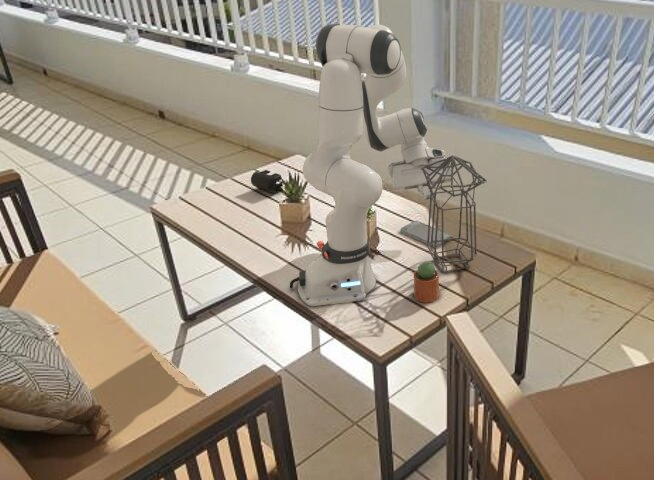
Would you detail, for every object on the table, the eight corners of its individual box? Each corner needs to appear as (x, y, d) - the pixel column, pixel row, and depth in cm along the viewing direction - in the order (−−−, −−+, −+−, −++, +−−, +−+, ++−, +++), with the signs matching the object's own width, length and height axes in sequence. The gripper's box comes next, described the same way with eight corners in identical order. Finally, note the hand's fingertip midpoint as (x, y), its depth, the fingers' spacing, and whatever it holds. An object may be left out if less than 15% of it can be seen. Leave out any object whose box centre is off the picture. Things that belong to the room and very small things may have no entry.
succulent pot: (419, 304, 171) (418, 272, 165) (410, 291, 176) (409, 259, 171) (442, 299, 173) (442, 266, 167) (433, 286, 178) (433, 254, 173)
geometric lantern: (420, 254, 193) (418, 149, 175) (468, 247, 196) (471, 143, 178) (433, 281, 180) (433, 170, 162) (485, 273, 183) (490, 164, 165)
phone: (435, 248, 196) (435, 244, 196) (399, 232, 206) (399, 228, 205) (452, 238, 201) (452, 235, 201) (416, 223, 211) (416, 219, 210)
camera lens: (252, 190, 235) (249, 174, 232) (266, 183, 240) (263, 167, 236) (270, 196, 230) (267, 180, 227) (284, 190, 235) (281, 173, 231)
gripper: (388, 159, 192) (399, 200, 189) (448, 149, 198) (461, 189, 195) (384, 167, 197) (395, 207, 195) (443, 157, 203) (455, 196, 201)
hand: (428, 198), depth 195 cm, fingers closed
